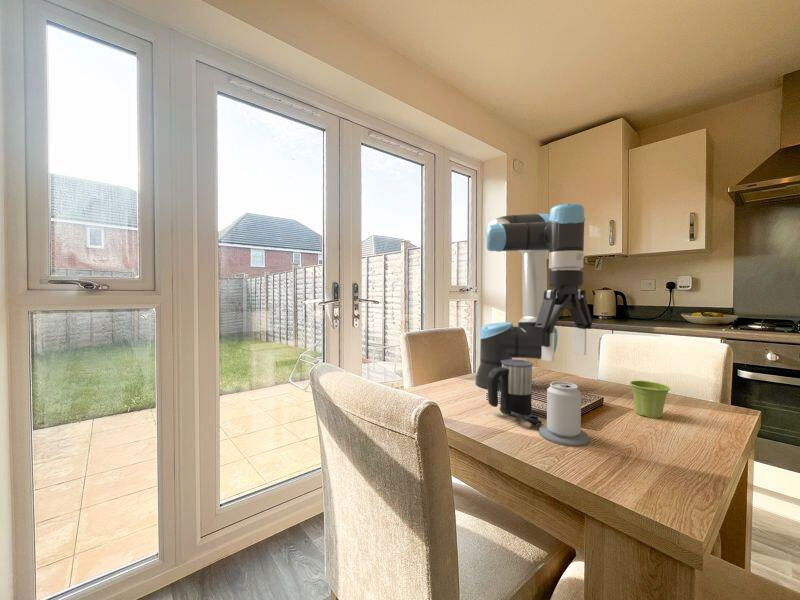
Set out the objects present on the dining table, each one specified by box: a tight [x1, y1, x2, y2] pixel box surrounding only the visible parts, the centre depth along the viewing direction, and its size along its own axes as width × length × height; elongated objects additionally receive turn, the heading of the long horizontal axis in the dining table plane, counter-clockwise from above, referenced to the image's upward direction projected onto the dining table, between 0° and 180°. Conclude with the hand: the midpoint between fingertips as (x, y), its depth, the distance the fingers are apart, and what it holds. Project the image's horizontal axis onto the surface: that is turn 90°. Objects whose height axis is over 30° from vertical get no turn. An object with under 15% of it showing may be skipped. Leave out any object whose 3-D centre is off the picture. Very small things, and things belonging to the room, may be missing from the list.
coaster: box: [539, 423, 590, 447], centre depth 83 cm, size 11×11×1 cm
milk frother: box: [487, 358, 543, 427], centre depth 96 cm, size 14×16×15 cm
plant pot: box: [629, 380, 671, 419], centre depth 97 cm, size 9×9×9 cm
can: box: [546, 381, 582, 438], centre depth 83 cm, size 8×8×12 cm
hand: (564, 357), depth 83 cm, fingers open, 13 cm apart
